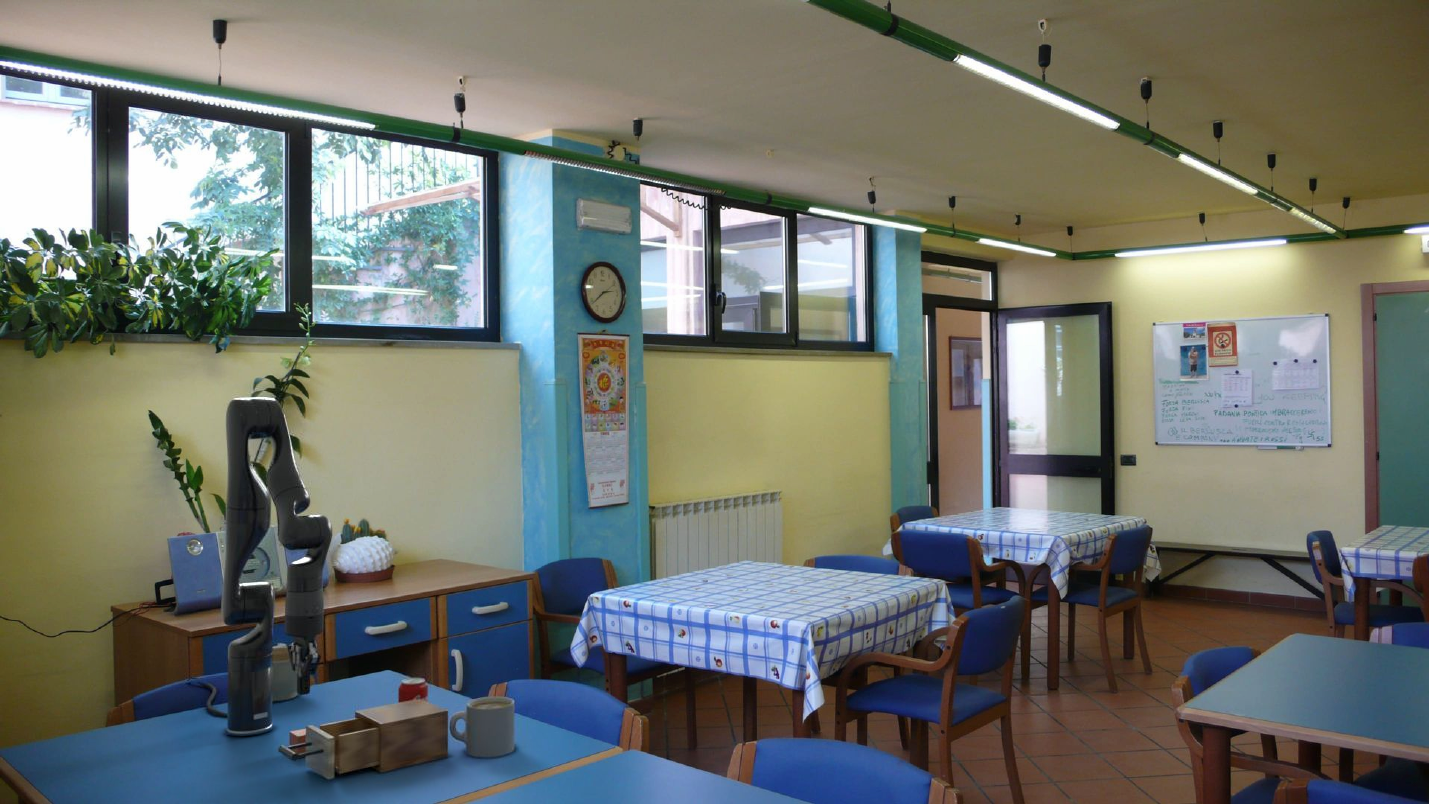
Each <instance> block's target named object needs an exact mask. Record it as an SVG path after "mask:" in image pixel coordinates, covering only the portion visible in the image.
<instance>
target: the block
mask: <svg viewBox="0 0 1429 804" xmlns="http://www.w3.org/2000/svg"><path fill="white" fill-rule="evenodd" d="M288 743H289V744H288V746H292V745H297V744H302V743H306V728H300V729H295V730H291V731H289V741H288ZM292 751H294V752H295V753H297V754H300V753H305V752H306V747H301V748H296V749H292Z"/></svg>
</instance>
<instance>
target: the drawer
mask: <svg viewBox="0 0 1429 804" xmlns="http://www.w3.org/2000/svg"><path fill="white" fill-rule="evenodd" d="M305 729H306V743H302V744H297V745H292V746H289V745H288V746H286V745H284V744H282V745H279V747H278V748H277V751H278V752H279V753H280V754H282V755H283V756H285V757H286V758H288V759H289V760H291V761H293V762H297V761H298V760H299V759H300V758H305V766H307V767H308V768H310V769H311V770H313V771H314V772H316V773H317V774H319V775H321V776H322V777H324V778H326V779H327V780H331V779H335V772H336V773H337V774H339V775H342V774H345V773H350V772H353V771H358V770H362V769H365V768H366V769H367V768H372V767H371V766H376V765H380V727H379V726H377V725H375V724H373V723H371V722H369V721H367V720H365V719H363V718H360V717H359V718H355V717H354V718H350V719H344V720H339V721H334V722H329V723H324V724H320V725H319V728H318V727H316V726H315V725H313V724H308V725H305ZM301 747H306V752H305V753H300V754H297V753H295V752H294V751H292V749H296V748H301Z"/></svg>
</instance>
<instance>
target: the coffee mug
mask: <svg viewBox="0 0 1429 804" xmlns="http://www.w3.org/2000/svg"><path fill="white" fill-rule="evenodd" d="M459 720H463V721H464V723H465V728H464V731H463V732H458V730H457V728H456V727H457V726H456V725H457V722H458V721H459ZM448 729H449V733H450V735H451V737H452V738H453V739H455V740H457V741H459V742H462V743H463V744H464V745H465V748H466V754H467V755H469V756H471V757H475V758H497V757H503V756H506V755H509V754H511V753H512V752H514V751H515V700H514V699H513V698H510V697H507V696H483V697H478V698H474V699H471V700H469V701H468V702H467V703H466V710H461V711H457V712H454V713H453V715H452V716H451V717H450V720H449V726H448Z"/></svg>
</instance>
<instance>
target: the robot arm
mask: <svg viewBox="0 0 1429 804" xmlns="http://www.w3.org/2000/svg"><path fill="white" fill-rule="evenodd" d="M225 412H226V413H225V437H226V454H227V486H226V502H225V559H224V562H225V563H224V570H223V579H222V580H223V582H222V591H221V602H220V603H221V604H220V606H221V607H220V609H221V610H220V611H221V619H222V621H223V623H224V624H225V625H226V626H232V627H233V626H244V625H245V626H246V625H254V624H256V626H255V627H254V629H252V630H251V631H250V632H248V633H247V634H245V635H243V636H241V637H238V638H236V639H234V640H232V641H231V642H230V643H229V644H228V648H227V713H226V712H223V711H220V710H217V709H216V708H213V707H212V702H213V700H215V697H216V694H217V688H216V687H215V686H214V685H212V684H211V683H208V682H207V683H208V684H204V683H200V682H197V684H200V685H202V686H204V687H206V688H209V689H210V690H211V691H212V692H211V694H210V696H209V698H208V699H207V701H206V709H207V711H209V712H210V713H212V714H213V715H215V716H218V717H221V718H227V719H226V720H227V721H226V722H227V723H226V726H227V727H226V734H227V735H229V736H233V737H250V736H257V735H262V734H265V733H268V732H270V731H271V730H273V701H272V683H273V648H274V623H275V621H274V620H275V609H276V607H275V606H276V593H275V588H274V586H273V584H272V583H271V582H270V581H256V582H255V581H253V582H242V583H240V582H241V578H242V574H243V572H244V568H245V567H246V565H247V563H248V561H249V559H250V558H251V556H252V555H253V553H254V552H255V551H256V550H257V548H258V547H259V546H260V544H261V543H262V542H263V540H264V538H265V537H266V535H267V534H268V532H269V530H270V527H271V523H272V502H273V505H274V507H275V511H276V521H277V538H278V541H279V544H281V546H282V547H283V548H285V549H286V550H287V551H293V552H294V551H302V550H306V553H305V555H304V556H303V557H302V558H299V559H297V560H295V561H293V562H291V563H289V564H288V566H287V570H286V593H285V594H286V595H285V603H284V634H285V636H288V637H291V638H292V639H291V644H288V645H287V646H286V647H287V649H288V653H289V657H290V662H291V666H292V670H293V671H295V674H296V676H297V693H298V694H297V695H299V696H304V695H309V694H310V692H311V676H313V675H314V676H315V675H316V672H317V670H318V667H319V665H320V662H321V659H322V654H321V653H320V652H319V653H317V650H318V645H317V640H316V636H318V635H320V634H322V633H323V632H324V623H325V622H324V620H325V619H324V618H325V617H324V616H325V612H324V611H325V609H324V607H325V598H324V590H323V588H324V568H325V564H326V559H327V557H328V553H329V549H330V547H331V543H332V539H333V526H332V523H331V521H330V519H329V518H328V517H327V516H326V515H324V514H310V515H309V514H308V515H300V514H302V513H304V512H305V511H306V510H307V509H308V508H309V507H310V505H311V497H310V495H309V492H308V490H307V487H306V484H305V482H304V481H303V478H302V476H301V474H300V470H299V467H298V465H297V462H296V458H295V454H294V448H293V443H292V439H291V435H290V431H289V427H288V423H287V418H286V416H285V412H284V409H283V407H282V405H281V403H280V402H279V401H278V400H277V399H276V398H274V397H239V398H238V397H237V398H233V399H231V400H230V402H229V403H228V405H227V408H226V411H225ZM266 439H268V441H269V442H270V444H271V446H272V450H273V451H272V455H271V459H270V462H269V465H268V468H267V471H266V476H265V477H266V479H265V481H266V482H265V483H266V484H265V483H264V481H263V479H262V478H261V477H260V475H259V474H258V472H257V471H256V469H255V467H254V465H253V463H252V459H251V457H250V450H249V449H250V448H249V440H251V441H252V440H266ZM190 679H200V678H198V677H194V676H192V677H190V678H188V679H187V680H186V682H187V681H189V680H190Z"/></svg>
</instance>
